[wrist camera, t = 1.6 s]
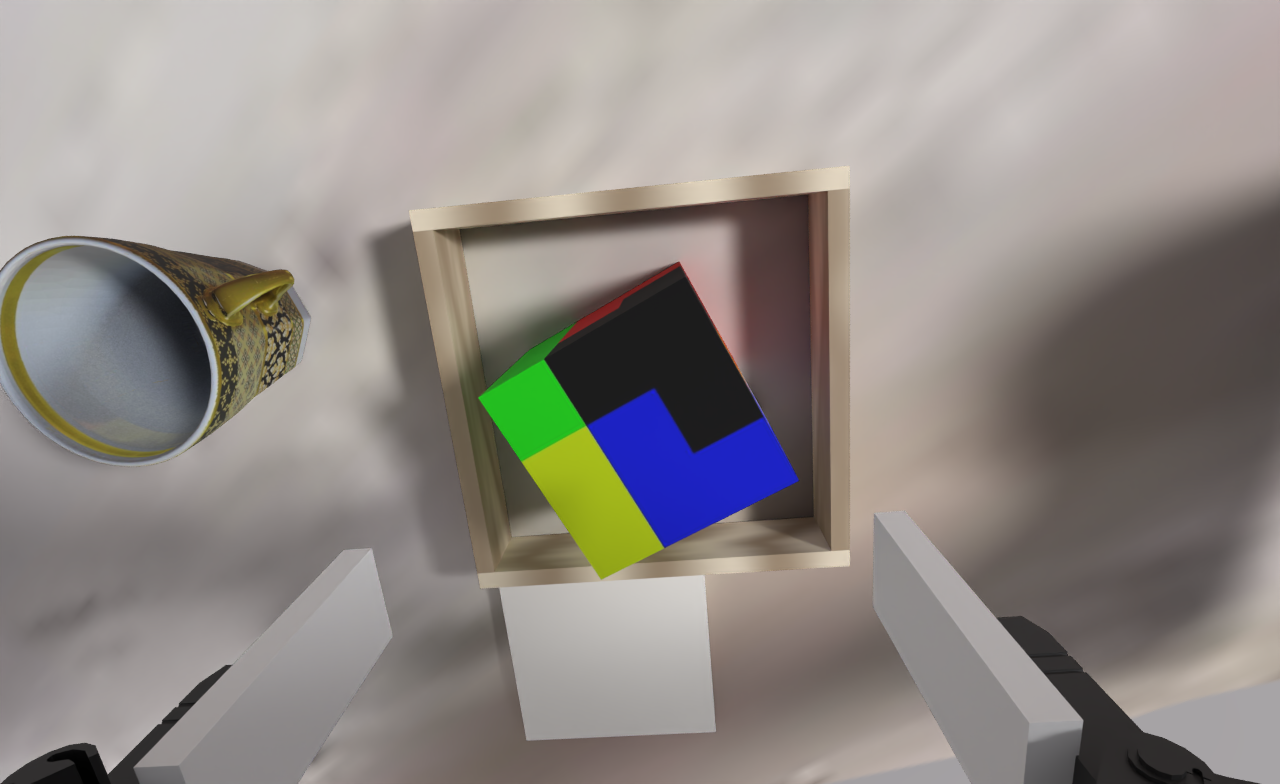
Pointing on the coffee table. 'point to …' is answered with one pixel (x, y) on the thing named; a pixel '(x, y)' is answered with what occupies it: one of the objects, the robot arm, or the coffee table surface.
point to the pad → (611, 657)
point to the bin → (718, 543)
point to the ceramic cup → (140, 344)
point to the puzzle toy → (639, 424)
